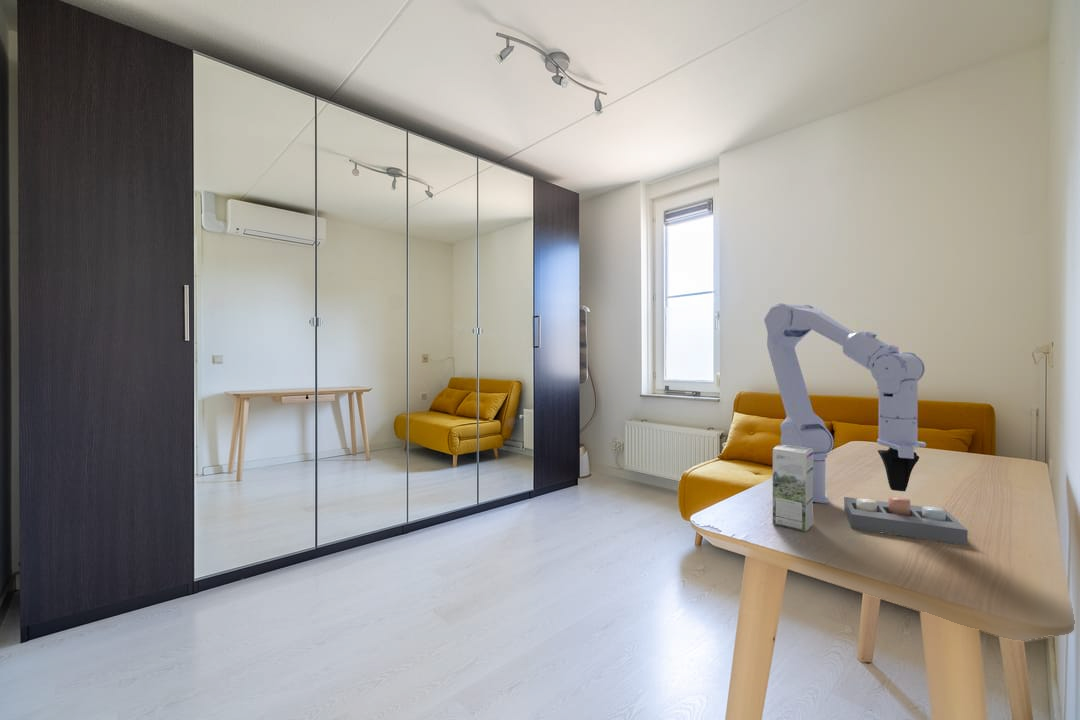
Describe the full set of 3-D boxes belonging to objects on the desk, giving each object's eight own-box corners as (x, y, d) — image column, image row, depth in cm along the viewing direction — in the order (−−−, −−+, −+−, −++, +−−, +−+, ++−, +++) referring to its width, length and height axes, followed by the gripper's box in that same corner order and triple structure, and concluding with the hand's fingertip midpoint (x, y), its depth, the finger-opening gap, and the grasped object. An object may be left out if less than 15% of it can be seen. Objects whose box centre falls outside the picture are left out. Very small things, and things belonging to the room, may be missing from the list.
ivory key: (857, 516, 86) (857, 501, 86) (855, 511, 89) (855, 497, 89) (878, 518, 85) (878, 504, 85) (875, 513, 88) (875, 499, 88)
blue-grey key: (924, 525, 82) (925, 510, 82) (920, 519, 84) (920, 505, 84) (948, 528, 80) (948, 513, 80) (942, 522, 83) (942, 508, 83)
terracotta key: (890, 514, 84) (890, 499, 84) (886, 509, 87) (886, 495, 87) (912, 517, 82) (912, 502, 82) (908, 512, 85) (908, 497, 85)
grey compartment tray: (851, 528, 83) (851, 514, 83) (844, 509, 94) (844, 496, 94) (967, 545, 76) (967, 530, 76) (945, 522, 86) (945, 509, 86)
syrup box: (813, 524, 85) (814, 447, 85) (805, 533, 81) (806, 451, 81) (780, 516, 89) (780, 443, 89) (771, 524, 85) (771, 447, 85)
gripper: (936, 423, 76) (936, 503, 76) (915, 414, 89) (915, 483, 89) (884, 420, 80) (884, 497, 80) (871, 412, 93) (871, 479, 93)
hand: (897, 490), depth 85 cm, fingers closed
